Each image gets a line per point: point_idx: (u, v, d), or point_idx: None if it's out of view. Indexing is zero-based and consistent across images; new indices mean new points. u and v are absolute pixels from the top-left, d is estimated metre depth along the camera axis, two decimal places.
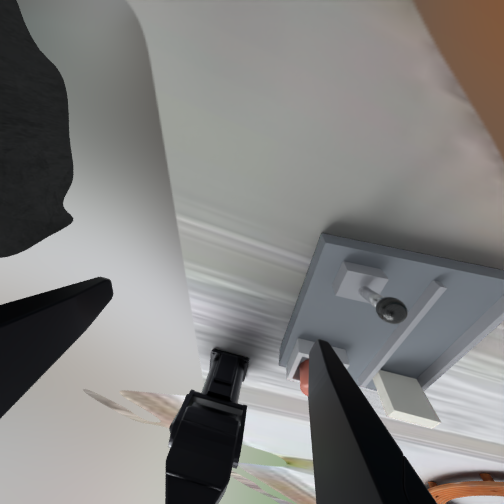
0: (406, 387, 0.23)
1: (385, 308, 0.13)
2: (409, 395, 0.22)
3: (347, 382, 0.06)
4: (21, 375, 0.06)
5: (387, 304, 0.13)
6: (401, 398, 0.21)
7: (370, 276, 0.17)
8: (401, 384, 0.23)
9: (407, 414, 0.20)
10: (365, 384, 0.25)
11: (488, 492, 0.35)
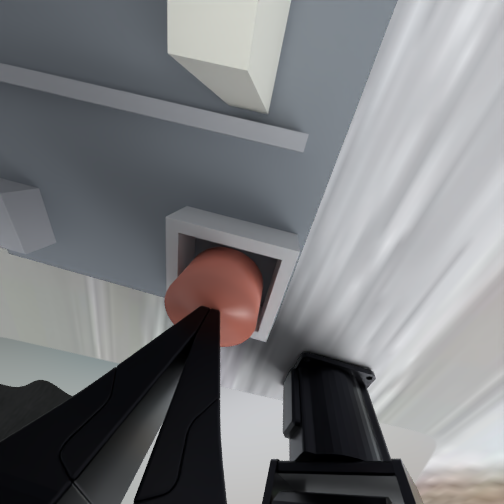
0: None
1: None
2: None
3: (209, 342, 0.06)
4: (158, 419, 0.06)
5: None
6: None
7: None
8: None
9: None
10: (286, 136, 0.07)
11: None
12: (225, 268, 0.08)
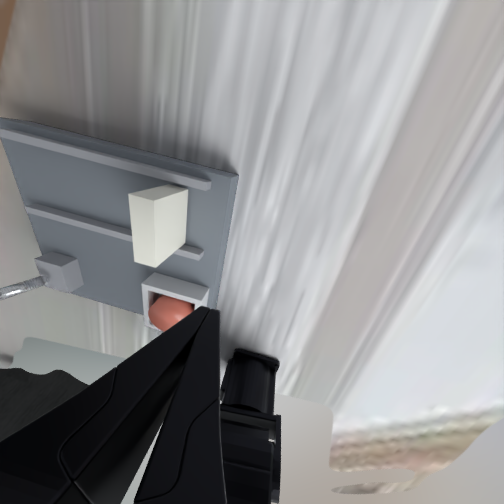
0: None
1: None
2: None
3: (209, 342, 0.06)
4: (158, 419, 0.06)
5: None
6: None
7: (40, 270, 0.20)
8: None
9: (134, 244, 0.13)
10: (191, 254, 0.17)
11: None
12: (173, 300, 0.18)
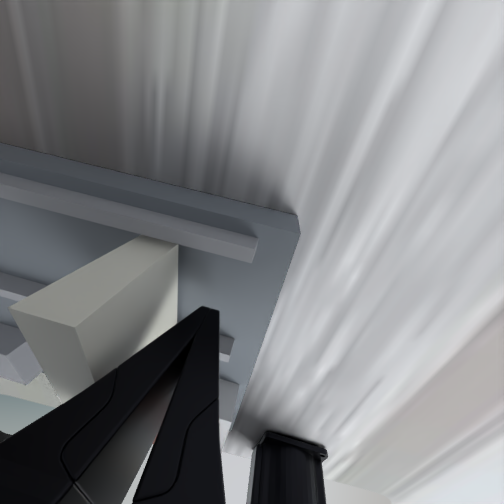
0: None
1: None
2: None
3: (209, 342, 0.06)
4: (159, 419, 0.06)
5: None
6: None
7: None
8: None
9: (55, 388, 0.06)
10: None
11: None
12: None
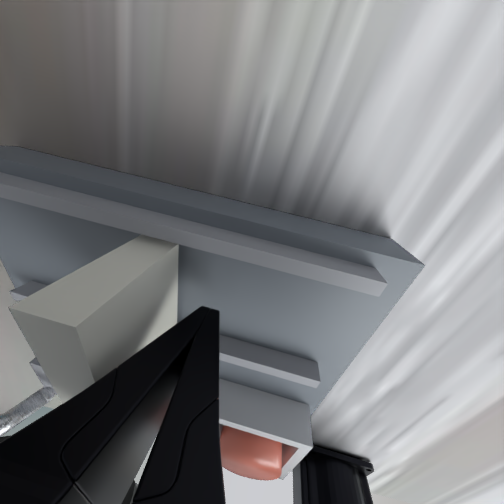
0: None
1: None
2: None
3: (209, 341, 0.06)
4: (159, 419, 0.06)
5: None
6: None
7: (39, 375, 0.13)
8: None
9: (56, 388, 0.06)
10: (304, 380, 0.10)
11: None
12: (259, 438, 0.11)
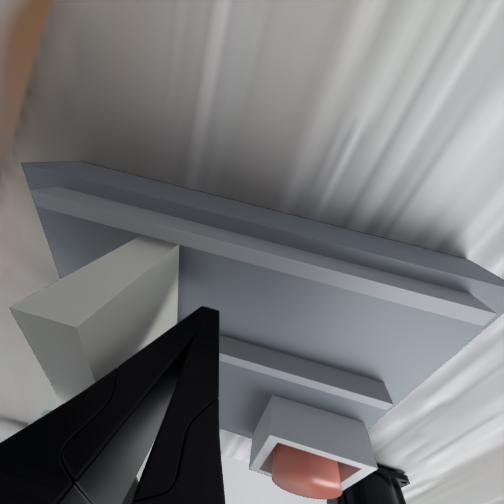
0: None
1: None
2: None
3: (209, 341, 0.06)
4: (159, 419, 0.06)
5: None
6: None
7: None
8: None
9: (56, 388, 0.06)
10: (375, 402, 0.09)
11: None
12: (319, 458, 0.11)
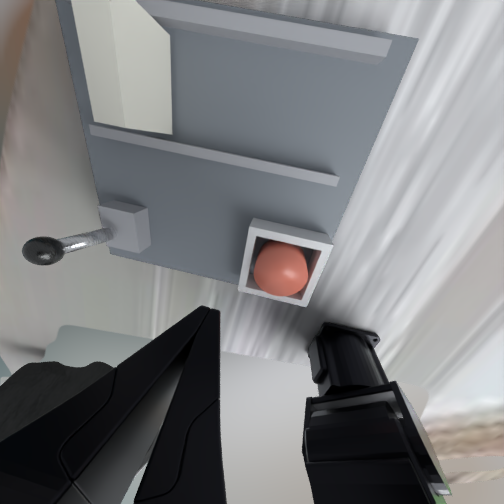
0: None
1: None
2: None
3: (209, 342, 0.06)
4: (158, 418, 0.06)
5: None
6: None
7: (103, 223, 0.16)
8: None
9: (88, 83, 0.09)
10: (326, 178, 0.12)
11: None
12: (290, 248, 0.14)
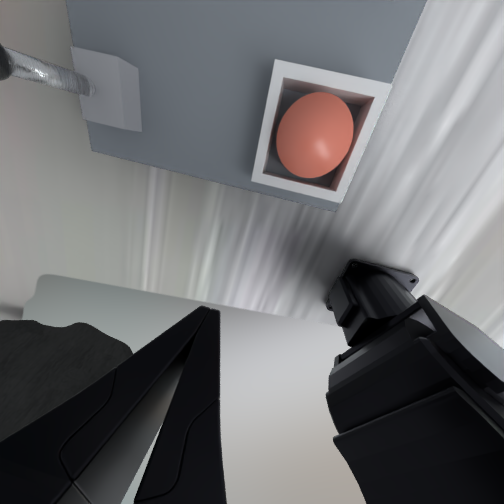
0: None
1: None
2: None
3: (209, 342, 0.06)
4: (158, 418, 0.06)
5: None
6: None
7: None
8: None
9: None
10: None
11: None
12: None
